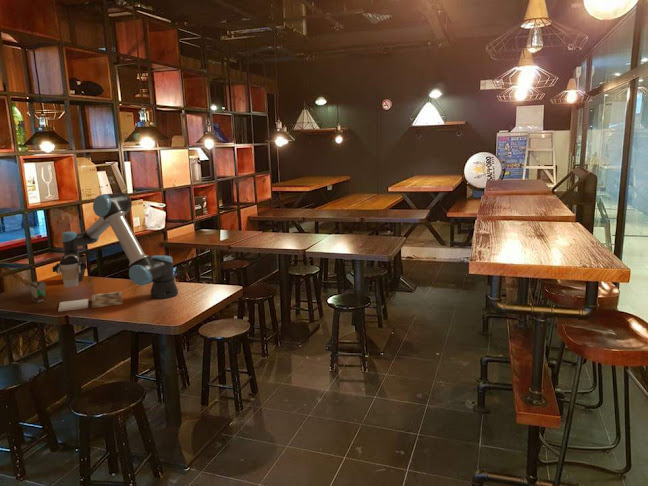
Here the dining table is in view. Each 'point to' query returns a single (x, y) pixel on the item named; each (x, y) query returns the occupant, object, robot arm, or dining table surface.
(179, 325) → the dining table surface
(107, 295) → the cup holder
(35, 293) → the food container
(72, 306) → the grey mat
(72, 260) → the coffee cup
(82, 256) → the plant pot
